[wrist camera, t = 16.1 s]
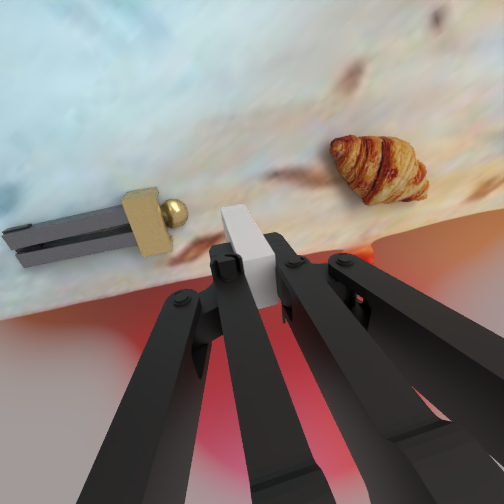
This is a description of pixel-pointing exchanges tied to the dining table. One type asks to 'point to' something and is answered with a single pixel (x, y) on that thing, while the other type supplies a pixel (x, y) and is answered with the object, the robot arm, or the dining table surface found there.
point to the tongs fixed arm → (96, 240)
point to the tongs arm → (64, 227)
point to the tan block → (147, 221)
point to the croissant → (380, 168)
